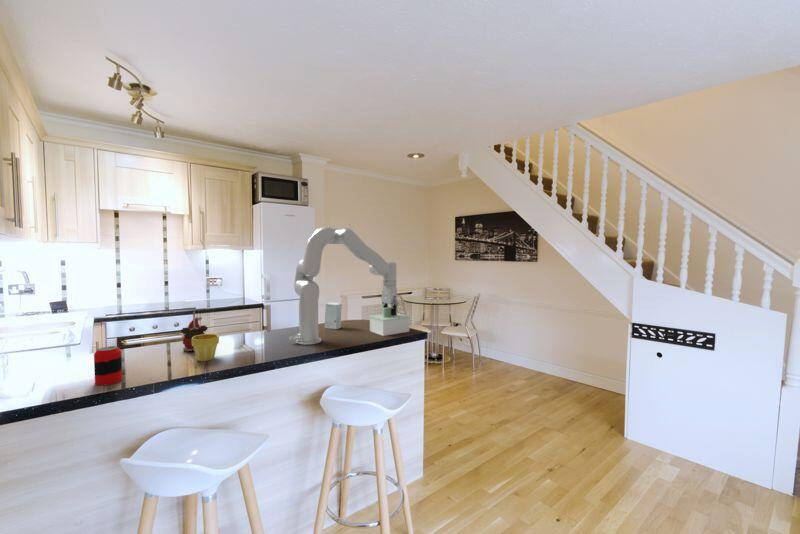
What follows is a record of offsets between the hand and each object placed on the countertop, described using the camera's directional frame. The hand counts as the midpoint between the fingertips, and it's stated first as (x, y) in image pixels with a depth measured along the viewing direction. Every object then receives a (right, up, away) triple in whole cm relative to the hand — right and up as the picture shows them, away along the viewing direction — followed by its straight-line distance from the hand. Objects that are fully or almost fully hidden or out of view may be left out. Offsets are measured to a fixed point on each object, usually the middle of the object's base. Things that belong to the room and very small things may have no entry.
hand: (389, 313), depth 208 cm
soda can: (-97, -14, -80) cm, 127 cm away
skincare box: (-34, -10, +8) cm, 36 cm away
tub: (0, -10, +1) cm, 10 cm away
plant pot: (-77, -13, -53) cm, 95 cm away
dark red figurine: (-90, -12, -39) cm, 99 cm away
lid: (0, -3, 0) cm, 3 cm away
